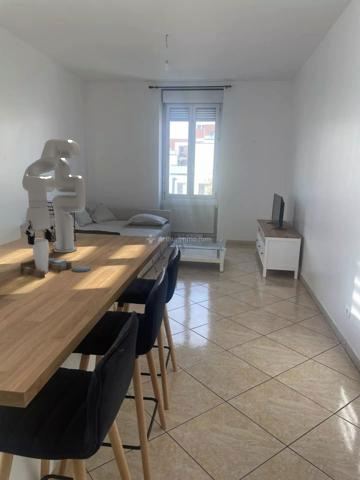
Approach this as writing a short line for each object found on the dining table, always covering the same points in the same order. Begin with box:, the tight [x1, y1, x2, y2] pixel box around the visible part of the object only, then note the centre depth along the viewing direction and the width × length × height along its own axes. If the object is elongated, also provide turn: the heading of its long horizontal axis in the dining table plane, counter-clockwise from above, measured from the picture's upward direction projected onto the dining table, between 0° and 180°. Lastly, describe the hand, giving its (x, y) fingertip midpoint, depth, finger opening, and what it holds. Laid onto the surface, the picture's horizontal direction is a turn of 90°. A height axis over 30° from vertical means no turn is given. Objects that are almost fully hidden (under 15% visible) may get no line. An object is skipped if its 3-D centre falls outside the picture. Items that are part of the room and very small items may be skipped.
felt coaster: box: [70, 265, 92, 273], centre depth 168 cm, size 9×9×1 cm
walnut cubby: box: [20, 253, 73, 279], centre depth 164 cm, size 13×18×5 cm
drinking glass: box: [32, 238, 50, 274], centre depth 161 cm, size 7×7×15 cm
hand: (40, 242), depth 159 cm, fingers open, 9 cm apart
